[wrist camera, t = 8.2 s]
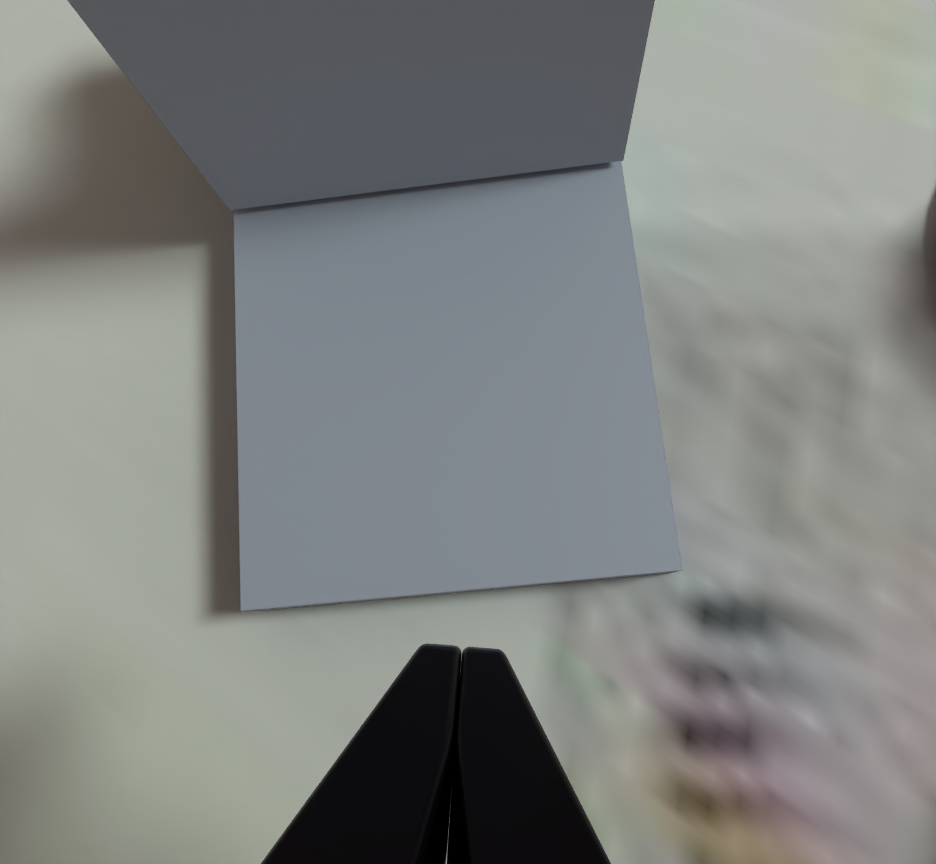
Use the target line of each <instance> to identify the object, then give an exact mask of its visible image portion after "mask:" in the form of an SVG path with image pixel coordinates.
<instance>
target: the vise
mask: <svg viewBox="0 0 936 864" xmlns="http://www.w3.org/2000/svg"><path fill="white" fill-rule="evenodd" d="M233 217H234V272H235V327H236V382H237V437H238V492H239V547H240V602H241V611H262V610H273V609H284V608H295V607H306V606H316V605H327V604H338V603H349V602H360V601H371V600H382V599H393V598H404V597H415V596H426V595H436V594H447V593H458V592H469V591H480V590H491V589H502V588H513V587H524V586H535V585H545V584H556V583H567V582H578V581H589V580H600V579H611V578H622V577H633V576H644V575H654V574H665V573H673V572H677V571H681V570H682V564H681V557H680V550H679V544H678V537H677V530H676V524H675V517H674V510H673V504H672V497H671V490H670V484H669V477H668V470H667V464H666V457H665V450H664V444H663V437H662V430H661V424H660V417H659V410H658V404H657V397H656V390H655V384H654V377H653V370H652V364H651V357H650V350H649V344H648V337H647V330H646V324H645V317H644V310H643V304H642V297H641V290H640V284H639V277H638V270H637V264H636V257H635V250H634V244H633V237H632V230H631V224H630V217H629V210H628V204H627V197H626V191H625V184H624V177H623V171H622V164H621V161H616V162H608V163H600V164H592V165H585V166H577V167H569V168H561V169H553V170H545V171H537V172H529V173H521V174H513V175H505V176H497V177H489V178H482V179H474V180H466V181H458V182H450V183H442V184H434V185H426V186H418V187H410V188H402V189H394V190H386V191H379V192H371V193H363V194H355V195H347V196H339V197H331V198H323V199H315V200H307V201H299V202H291V203H283V204H276V205H268V206H260V207H252V208H244V209H236V210H233Z"/></svg>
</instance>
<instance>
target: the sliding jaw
mask: <svg viewBox="0 0 936 864" xmlns="http://www.w3.org/2000/svg"><path fill="white" fill-rule="evenodd" d="M654 1H655V0H68V2H69V3H70V4H71V5H72V7H73V8H74V9H75V11H76V12H77V13H78V14H79V16H80V17H81V18H82V20H83V21H84V22H85V24H86V25H87V26H88V27H89V29H90V30H91V31H92V33H93V34H94V35H95V37H96V38H97V39H98V40H99V42H100V43H101V44H102V46H103V47H104V48H105V50H106V51H107V52H108V53H109V55H110V56H111V57H112V59H113V60H114V61H115V63H116V64H117V65H118V66H119V68H120V69H121V70H122V72H123V73H124V74H125V75H126V77H127V78H128V79H129V81H130V82H131V83H132V85H133V86H134V87H135V88H136V90H137V91H138V92H139V94H140V95H141V96H142V98H143V99H144V100H145V101H146V103H147V104H148V105H149V107H150V108H151V109H152V111H153V112H154V113H155V114H156V116H157V117H158V118H159V120H160V121H161V122H162V124H163V125H164V126H165V127H166V129H167V130H168V131H169V133H170V134H171V135H172V136H173V138H174V139H175V140H176V142H177V143H178V144H179V146H180V147H181V148H182V149H183V151H184V152H185V153H186V155H187V156H188V157H189V159H190V160H191V161H192V162H193V164H194V165H195V166H196V168H197V169H198V170H199V172H200V173H201V174H202V175H203V177H204V178H205V179H206V181H207V182H208V183H209V185H210V186H211V187H212V188H213V190H214V191H215V192H216V194H217V195H218V196H219V198H220V199H221V200H222V201H223V203H224V204H225V205H226V207H227V208H228V209H229V210H236V209H244V208H252V207H260V206H268V205H276V204H283V203H291V202H299V201H307V200H315V199H323V198H331V197H339V196H347V195H355V194H363V193H371V192H379V191H386V190H394V189H402V188H410V187H418V186H426V185H434V184H442V183H450V182H458V181H466V180H474V179H482V178H489V177H497V176H505V175H513V174H521V173H529V172H537V171H545V170H553V169H561V168H569V167H577V166H585V165H592V164H600V163H608V162H616V161H623V159H624V154H625V149H626V144H627V138H628V133H629V128H630V123H631V118H632V113H633V108H634V103H635V98H636V93H637V88H638V82H639V77H640V72H641V67H642V62H643V57H644V52H645V47H646V42H647V37H648V31H649V26H650V21H651V16H652V11H653V6H654Z"/></svg>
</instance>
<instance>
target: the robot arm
mask: <svg viewBox="0 0 936 864" xmlns="http://www.w3.org/2000/svg"><path fill="white" fill-rule="evenodd" d="M460 670H461V673H460ZM459 684H460V685H459ZM451 791H452V792H451ZM450 804H451V807H450ZM449 817H450V822H449ZM448 830H449V836H448ZM447 843H448V851H447ZM446 854H447V864H611V863H610V861H609V859H608V857H607V855H606V853H605V851H604V849H603V847H602V845H601V843H600V841H599V839H598V837H597V835H596V833H595V831H594V829H593V827H592V825H591V823H590V821H589V819H588V817H587V815H586V813H585V811H584V809H583V807H582V805H581V803H580V801H579V799H578V797H577V795H576V793H575V791H574V790H573V788H572V786H571V784H570V782H569V780H568V778H567V776H566V774H565V772H564V770H563V768H562V766H561V764H560V762H559V760H558V758H557V756H556V754H555V752H554V750H553V748H552V746H551V744H550V742H549V740H548V738H547V736H546V734H545V732H544V730H543V728H542V726H541V724H540V722H539V720H538V718H537V716H536V714H535V712H534V710H533V708H532V706H531V704H530V702H529V700H528V698H527V696H526V694H525V692H524V690H523V688H522V686H521V684H520V682H519V680H518V678H517V676H516V674H515V672H514V670H513V668H512V667H511V665H510V663H509V661H508V659H507V657H506V655H505V654H504V652H502V651H501V650H499V649H490V648H478V647H467V648H465V649H464V650H463V653H462V661H461V650H460V648H459V647H457V646H452V645H439V644H423V645H421V646H420V647H419V648H418V649H417V651H416V652H415V653H414V655H413V656H412V657H411V659H410V660H409V662H408V663H407V664H406V666H405V667H404V668H403V670H402V671H401V672H400V674H399V675H398V677H397V678H396V679H395V681H394V682H393V683H392V685H391V686H390V688H389V689H388V690H387V692H386V693H385V694H384V696H383V697H382V699H381V700H380V701H379V703H378V704H377V705H376V707H375V708H374V709H373V711H372V712H371V714H370V715H369V716H368V718H367V719H366V720H365V722H364V723H363V725H362V726H361V727H360V729H359V730H358V731H357V733H356V734H355V735H354V737H353V738H352V740H351V741H350V742H349V744H348V745H347V746H346V748H345V749H344V751H343V752H342V753H341V755H340V756H339V757H338V759H337V760H336V761H335V763H334V764H333V766H332V767H331V768H330V770H329V771H328V772H327V774H326V775H325V777H324V778H323V779H322V781H321V782H320V783H319V785H318V786H317V787H316V789H315V790H314V792H313V793H312V794H311V796H310V797H309V798H308V800H307V801H306V803H305V804H304V805H303V807H302V808H301V809H300V811H299V812H298V814H297V815H296V816H295V818H294V819H293V820H292V822H291V823H290V824H289V826H288V827H287V829H286V830H285V831H284V833H283V834H282V835H281V837H280V838H279V840H278V841H277V842H276V844H275V845H274V846H273V848H272V849H271V850H270V852H269V853H268V855H267V856H266V857H265V859H264V860H263V861H262V863H261V864H446Z"/></svg>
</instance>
